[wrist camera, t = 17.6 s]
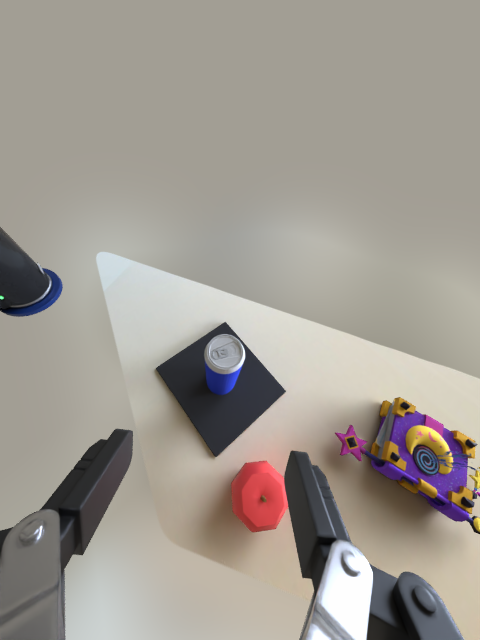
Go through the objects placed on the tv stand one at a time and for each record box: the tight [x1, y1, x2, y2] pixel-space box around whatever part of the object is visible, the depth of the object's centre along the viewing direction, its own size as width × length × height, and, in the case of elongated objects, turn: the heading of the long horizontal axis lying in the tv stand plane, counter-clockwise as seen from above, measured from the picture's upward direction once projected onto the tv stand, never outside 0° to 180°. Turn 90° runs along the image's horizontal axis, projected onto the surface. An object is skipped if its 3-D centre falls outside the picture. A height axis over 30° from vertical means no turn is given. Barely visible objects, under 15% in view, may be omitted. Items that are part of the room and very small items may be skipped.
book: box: [335, 397, 480, 534], centre depth 33 cm, size 14×25×12 cm, turn 58°
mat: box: [156, 322, 286, 457], centre depth 41 cm, size 16×18×1 cm
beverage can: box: [204, 334, 245, 395], centre depth 34 cm, size 5×5×15 cm
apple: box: [231, 461, 288, 532], centre depth 30 cm, size 8×8×8 cm
